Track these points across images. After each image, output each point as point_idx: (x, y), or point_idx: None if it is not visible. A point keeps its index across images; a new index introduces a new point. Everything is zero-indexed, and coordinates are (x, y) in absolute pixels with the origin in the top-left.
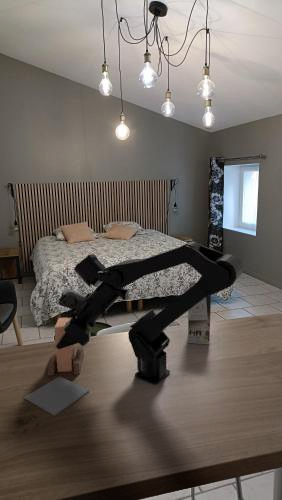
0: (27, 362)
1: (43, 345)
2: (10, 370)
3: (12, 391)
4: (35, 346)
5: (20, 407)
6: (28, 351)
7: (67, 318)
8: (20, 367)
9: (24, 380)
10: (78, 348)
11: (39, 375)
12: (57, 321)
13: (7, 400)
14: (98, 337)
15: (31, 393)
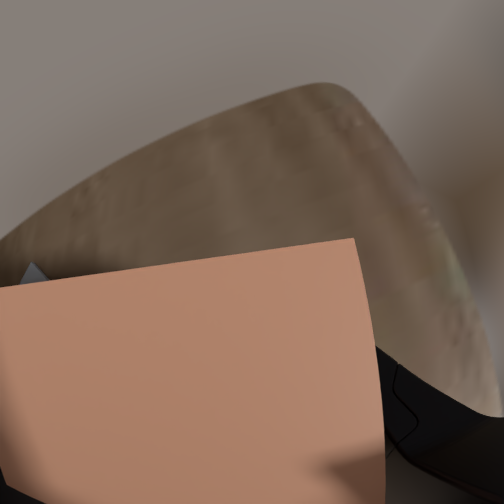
0: (250, 171)
1: (400, 185)
2: (190, 140)
3: (69, 208)
4: (384, 157)
5: (11, 266)
6: (340, 144)
7: (333, 447)
8: (210, 162)
9: (119, 216)
10: None
11: (147, 260)
12: (152, 271)
13: (38, 216)
14: (489, 407)
15: (41, 276)
